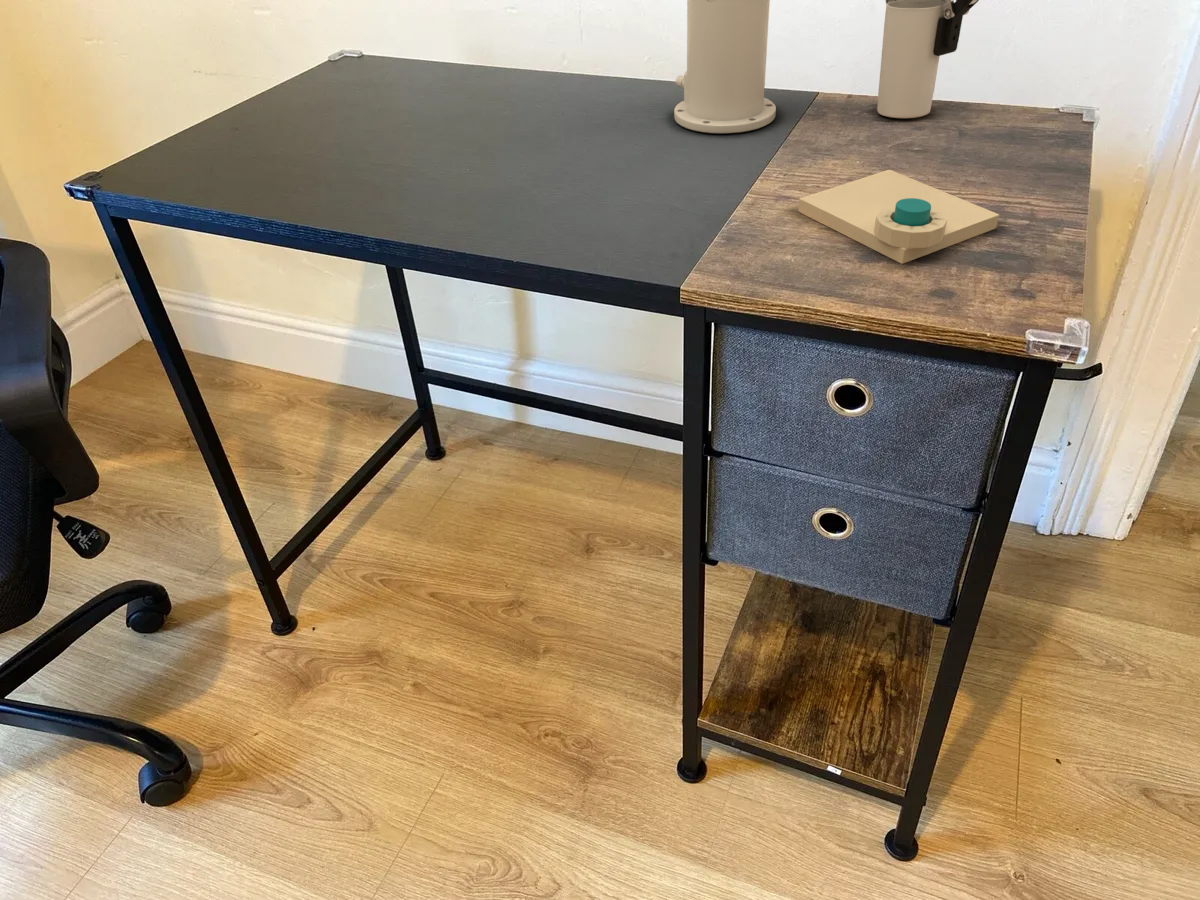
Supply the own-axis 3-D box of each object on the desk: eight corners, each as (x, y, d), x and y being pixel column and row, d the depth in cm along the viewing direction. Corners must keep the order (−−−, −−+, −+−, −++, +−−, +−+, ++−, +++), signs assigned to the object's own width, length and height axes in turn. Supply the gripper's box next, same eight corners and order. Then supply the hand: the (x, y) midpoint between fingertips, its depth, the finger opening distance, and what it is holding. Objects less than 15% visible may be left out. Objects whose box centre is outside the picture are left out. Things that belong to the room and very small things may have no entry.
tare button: (886, 219, 79) (888, 203, 78) (910, 211, 80) (913, 195, 79) (910, 231, 77) (913, 214, 76) (935, 222, 78) (938, 206, 77)
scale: (794, 212, 87) (797, 183, 85) (887, 182, 92) (891, 154, 90) (906, 269, 77) (912, 237, 75) (1004, 232, 81) (1012, 201, 80)
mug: (924, 121, 104) (939, 9, 97) (867, 117, 107) (878, 8, 100) (945, 99, 110) (961, -7, 103) (891, 96, 113) (903, -7, 107)
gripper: (1041, -132, 88) (1001, 55, 99) (911, -141, 100) (889, 27, 111) (988, -123, 85) (954, 69, 97) (862, -133, 97) (844, 39, 109)
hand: (919, 45), depth 104 cm, fingers closed on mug, 6 cm apart
